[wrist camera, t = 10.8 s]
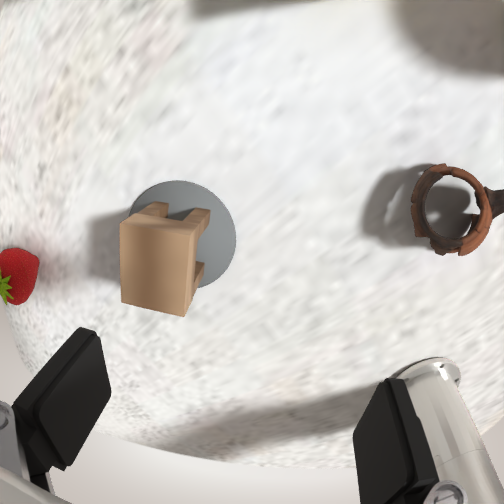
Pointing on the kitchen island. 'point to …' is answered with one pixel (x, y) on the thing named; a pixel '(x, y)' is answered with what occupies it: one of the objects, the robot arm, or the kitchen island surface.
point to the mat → (215, 235)
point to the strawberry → (17, 275)
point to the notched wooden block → (161, 258)
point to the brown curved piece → (489, 209)
